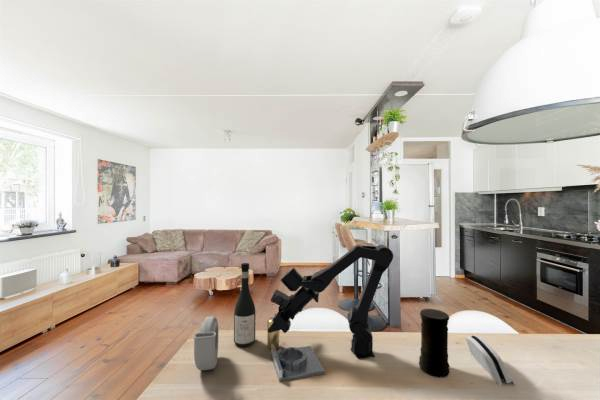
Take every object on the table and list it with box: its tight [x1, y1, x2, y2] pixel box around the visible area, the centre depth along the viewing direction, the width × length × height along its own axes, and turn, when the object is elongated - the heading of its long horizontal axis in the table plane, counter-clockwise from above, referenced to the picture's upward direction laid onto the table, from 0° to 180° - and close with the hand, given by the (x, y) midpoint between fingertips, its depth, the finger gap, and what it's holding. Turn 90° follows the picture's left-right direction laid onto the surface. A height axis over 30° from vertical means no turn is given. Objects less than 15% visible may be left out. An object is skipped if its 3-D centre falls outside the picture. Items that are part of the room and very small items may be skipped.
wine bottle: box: [233, 262, 256, 348], centre depth 104 cm, size 8×8×30 cm
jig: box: [270, 344, 326, 382], centre depth 91 cm, size 14×15×3 cm
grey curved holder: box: [192, 315, 219, 371], centre depth 89 cm, size 17×6×15 cm, turn 9°
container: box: [418, 308, 450, 379], centre depth 88 cm, size 9×9×18 cm
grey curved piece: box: [465, 334, 517, 386], centre depth 89 cm, size 17×5×10 cm, turn 173°
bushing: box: [266, 316, 280, 351], centre depth 101 cm, size 4×4×10 cm
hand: (269, 328), depth 101 cm, fingers closed on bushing, 4 cm apart
